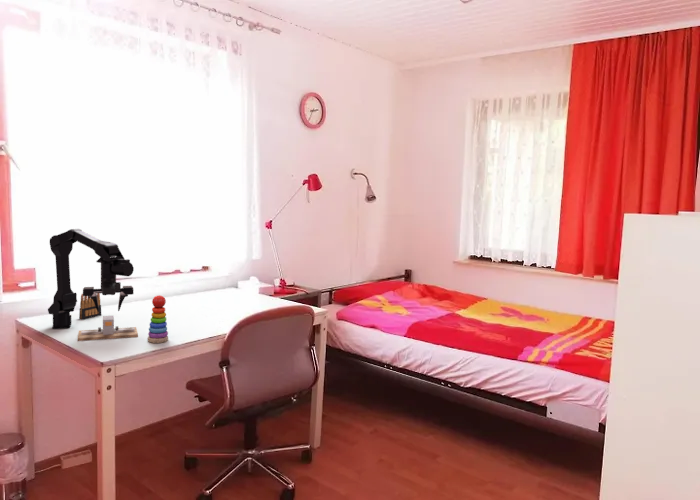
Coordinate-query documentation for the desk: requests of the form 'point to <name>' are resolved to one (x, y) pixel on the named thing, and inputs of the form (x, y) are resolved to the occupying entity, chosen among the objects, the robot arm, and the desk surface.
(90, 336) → the rail base
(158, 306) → the stacking toy
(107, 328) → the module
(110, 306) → the desk surface
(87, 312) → the ammunition clip
